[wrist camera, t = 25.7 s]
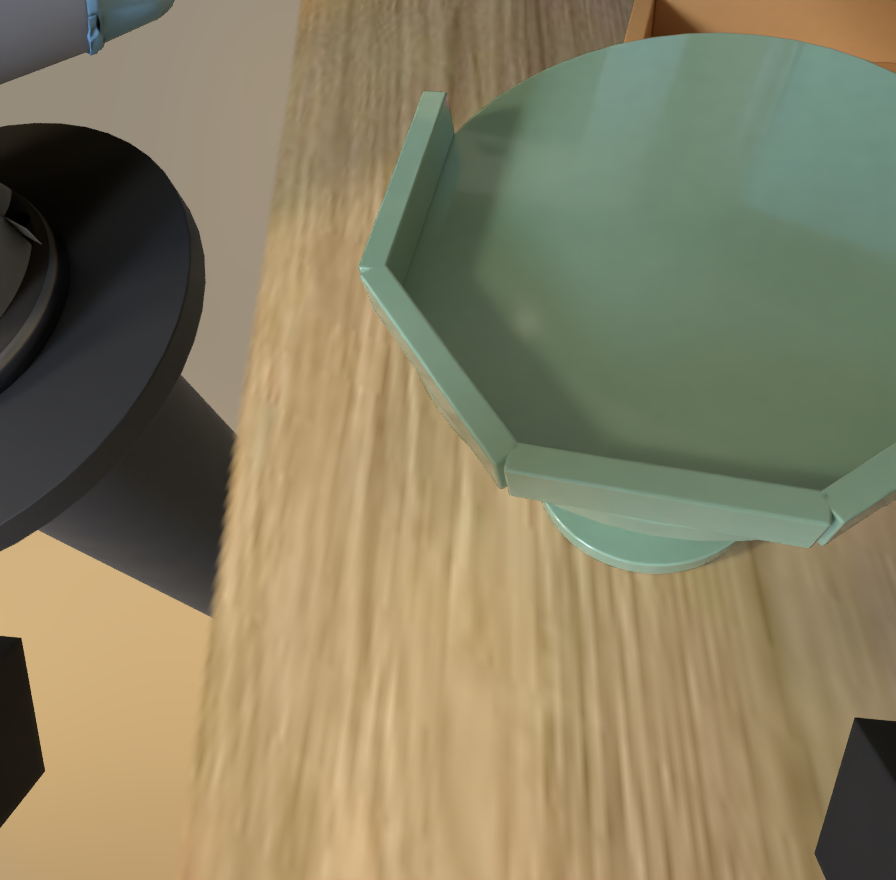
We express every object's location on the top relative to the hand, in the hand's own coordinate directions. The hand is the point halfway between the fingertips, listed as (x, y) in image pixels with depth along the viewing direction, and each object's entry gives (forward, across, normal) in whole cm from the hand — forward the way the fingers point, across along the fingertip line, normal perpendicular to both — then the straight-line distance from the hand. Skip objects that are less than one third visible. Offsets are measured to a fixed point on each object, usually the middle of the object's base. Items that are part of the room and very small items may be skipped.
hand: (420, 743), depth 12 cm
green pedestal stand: (+15, +6, -1) cm, 17 cm away
